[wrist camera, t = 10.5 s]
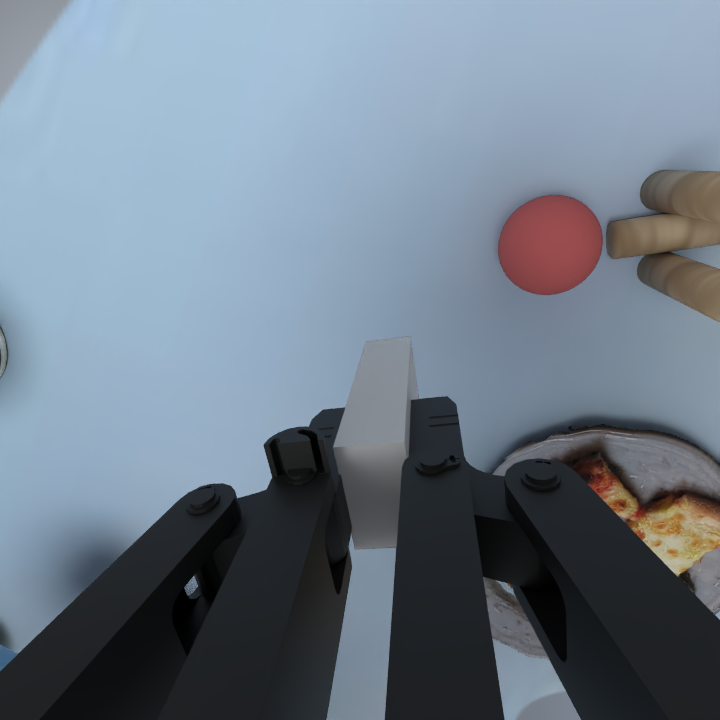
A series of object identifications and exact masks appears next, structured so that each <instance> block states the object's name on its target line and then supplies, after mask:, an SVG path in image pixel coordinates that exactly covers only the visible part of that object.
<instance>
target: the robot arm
mask: <svg viewBox="0 0 720 720" xmlns="http://www.w3.org/2000/svg"><path fill="white" fill-rule="evenodd" d="M264 449H265V452H266V456H267V459H268V463H269V467H270V470H271V474H272V479H271V481H270V483H269V485H268V488H267V490H264V491H261V492H259V493H255V494H252V495H248V496H244V497H241V498H237V496H236V493H235V490H234V489H233V488H232V487H231V486H230V485H226V484H223V483H221V484H209V485H206V486H205V485H204V486H201V487H199V488H197V489H195V490H193V491H191V492H189V493H188V494H186V495H185V496H184V497H182V498H181V499H180V500H179V501H177V502H176V503H175V504H174V505H173V506H172V507H171V508H170V509H169V510H168V511H167V512H166V513H165V514H164V515H163V516H162V517H161V518H160V519H159V520H158V521H157V522H156V523H154V524H153V525H152V526H151V527H150V528H149V529H148V530H147V531H146V532H145V533H144V534H143V535H142V536H141V537H140V538H139V539H138V540H137V541H136V542H135V543H134V544H133V545H132V546H130V547H129V548H128V549H127V550H126V551H125V552H124V553H123V554H122V555H121V556H120V557H119V558H118V559H117V560H116V561H115V562H114V563H113V564H112V565H111V566H110V567H109V568H107V569H106V570H105V571H104V572H103V573H102V574H101V575H100V576H99V577H98V578H97V579H96V580H95V581H94V582H93V583H92V584H91V585H90V586H89V587H88V588H87V589H86V590H84V591H83V592H82V593H81V594H80V595H79V596H78V597H77V598H76V599H75V600H74V601H73V602H72V603H71V604H70V605H69V606H68V607H67V608H66V609H65V610H64V611H63V612H61V613H60V614H59V615H58V616H57V617H56V618H55V619H54V620H53V621H52V622H51V623H50V624H49V625H48V626H47V627H46V628H45V629H44V630H43V631H42V632H41V633H40V634H38V635H37V636H36V637H35V638H34V639H33V640H32V641H31V642H30V643H29V644H28V645H27V646H26V647H25V648H24V649H23V650H22V651H21V652H20V653H19V654H17V653H15V652H14V651H12V650H10V649H8V648H6V647H4V646H2V645H0V720H326V718H327V712H328V707H329V701H330V695H331V689H332V683H333V677H334V671H335V665H336V659H337V653H338V647H339V641H340V635H341V629H342V623H343V617H344V611H345V605H346V599H347V593H348V587H349V581H350V575H351V570H352V563H351V556H350V552H349V547H348V546H349V541H350V536H351V533H352V538H353V542H354V547H355V549H375V548H396V562H395V577H394V592H393V607H392V621H391V636H390V651H389V666H388V681H387V696H386V711H385V720H504V714H503V707H502V700H501V693H500V687H499V680H498V673H497V667H496V660H495V653H494V647H493V640H492V633H491V626H490V620H489V613H488V606H487V600H486V593H485V586H484V580H483V577H485V578H489V579H493V580H497V581H501V582H506V583H510V584H512V587H513V590H514V593H515V595H516V597H517V599H518V601H519V603H520V605H521V607H522V609H523V610H524V612H525V614H526V616H527V618H528V620H529V622H530V624H531V626H532V627H533V629H534V631H535V633H536V635H537V637H538V639H539V641H540V643H541V645H542V646H543V648H544V650H545V652H546V654H547V656H548V658H549V660H550V662H551V663H552V665H553V667H554V669H555V671H556V673H557V675H558V677H559V679H560V680H561V682H562V684H563V686H564V688H565V690H566V692H567V694H568V696H569V697H570V699H571V701H572V703H573V705H574V707H575V709H576V711H577V713H578V715H579V716H580V718H581V720H720V620H719V619H718V618H717V617H716V616H715V615H714V614H713V613H712V612H711V611H710V609H709V608H708V607H707V606H706V605H705V604H704V603H703V602H702V601H701V600H700V599H699V598H698V597H697V596H696V595H695V594H694V593H693V592H692V591H691V590H690V589H689V588H688V587H687V586H686V585H685V584H684V583H683V582H682V581H681V580H680V579H679V578H678V577H677V576H676V575H675V573H674V572H673V571H672V570H671V569H670V568H669V567H668V566H667V565H666V564H665V563H664V562H663V561H662V560H661V559H660V558H659V557H658V556H657V555H656V554H655V553H654V552H653V551H652V550H651V549H650V548H649V547H648V546H647V545H646V544H645V543H644V542H643V541H642V540H641V538H640V537H639V536H638V535H637V534H636V533H635V532H634V531H633V530H632V529H631V528H630V527H629V526H628V525H627V524H626V523H625V522H624V521H623V520H622V519H621V518H620V517H619V516H618V515H617V514H616V513H615V512H614V511H613V510H612V509H611V508H610V507H609V506H608V505H607V504H606V502H605V501H604V500H603V499H602V498H601V497H600V496H599V495H598V494H597V493H596V492H595V491H594V490H593V489H592V488H591V487H590V486H589V485H588V484H587V483H586V482H585V481H584V480H583V479H582V478H581V477H580V476H579V475H578V474H577V473H576V472H575V471H574V470H573V469H571V468H570V467H568V466H567V465H566V464H563V463H560V462H557V461H554V460H549V459H540V458H537V459H526V460H523V461H520V462H517V463H514V464H513V465H512V466H511V467H509V468H508V469H507V470H506V473H505V476H499V475H493V474H488V473H484V472H482V471H479V470H477V469H475V468H474V467H472V466H470V465H469V463H468V462H467V461H466V459H465V457H464V453H463V446H462V439H461V433H460V426H459V419H458V413H457V406H456V404H455V403H454V402H453V401H452V400H451V399H450V398H449V397H447V396H446V397H435V398H425V399H419V396H418V388H417V381H416V374H415V366H414V359H413V352H412V344H411V337H401V338H393V339H385V340H376V341H368V342H366V343H365V346H364V350H363V353H362V356H361V359H360V363H359V366H358V369H357V372H356V375H355V379H354V382H353V385H352V388H351V391H350V395H349V398H348V401H347V404H346V407H345V408H336V409H326V410H322V411H321V412H320V413H319V414H318V415H316V416H315V417H314V418H313V419H312V421H311V423H310V426H309V427H296V428H290V429H287V430H284V431H282V432H279V433H277V434H276V435H274V436H272V437H271V438H269V439H268V440H267V442H266V443H265V444H264ZM193 576H195V579H196V581H197V584H198V588H197V589H196V590H195V591H194V592H193V593H192V594H191V595H190V596H189V597H188V596H187V594H186V592H185V589H184V587H185V586H186V584H187V583H188V582H189V581H190V580H191V578H192V577H193Z"/></svg>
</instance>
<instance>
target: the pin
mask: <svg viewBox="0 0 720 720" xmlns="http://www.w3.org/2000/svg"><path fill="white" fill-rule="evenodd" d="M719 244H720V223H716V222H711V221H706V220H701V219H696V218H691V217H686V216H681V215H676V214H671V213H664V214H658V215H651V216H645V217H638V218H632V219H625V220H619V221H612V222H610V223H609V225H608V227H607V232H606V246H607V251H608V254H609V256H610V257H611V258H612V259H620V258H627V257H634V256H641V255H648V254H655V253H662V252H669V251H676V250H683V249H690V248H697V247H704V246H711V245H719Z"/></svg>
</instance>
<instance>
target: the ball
mask: <svg viewBox="0 0 720 720" xmlns="http://www.w3.org/2000/svg"><path fill="white" fill-rule="evenodd" d="M602 244H603V238H602V231H601V227H600V224H599V222H598V220H597V218H596V216H595V215H594V213H593V212H592V211H591V210H590V209H589V208H588V207H587V206H586V205H584V204H583V203H581V202H580V201H578V200H576V199H573V198H571V197H567V196H561V195H549V196H543V197H539V198H536V199H533V200H531V201H529V202H527V203H525V204H524V205H522V206H521V207H520V208H518V209H517V210H516V211H515V212H514V213H513V214H512V215H511V216H510V218H509V219H508V220H507V222H506V223H505V225H504V227H503V229H502V232H501V235H500V238H499V244H498V255H499V260H500V264H501V266H502V268H503V271H504V272H505V274H506V276H507V277H508V278H509V279H510V280H511V281H512V282H513V283H514V284H515V285H516V286H518V287H519V288H521V289H523V290H525V291H527V292H530V293H534V294H540V295H552V294H558V293H562V292H565V291H568V290H570V289H572V288H574V287H575V286H577V285H579V284H580V283H581V282H583V281H584V280H585V279H586V278H587V277H588V276H589V275H590V274H591V272H592V271H593V270H594V268H595V266H596V265H597V263H598V260H599V258H600V255H601V251H602Z"/></svg>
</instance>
